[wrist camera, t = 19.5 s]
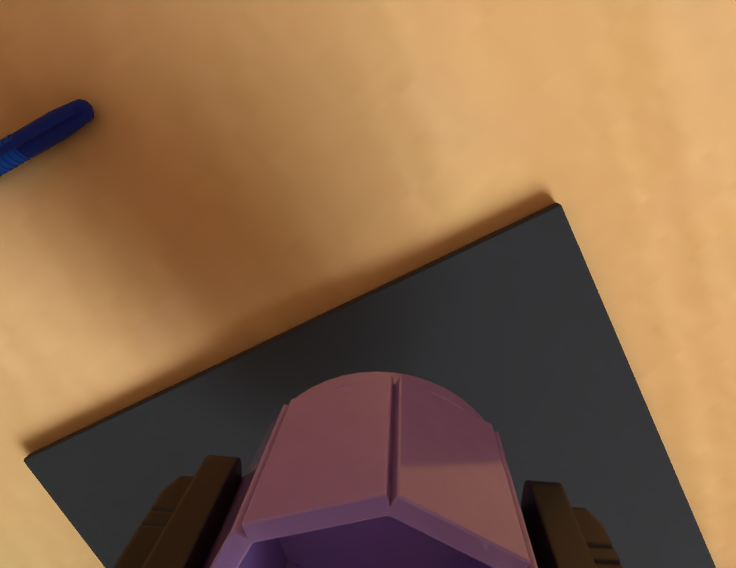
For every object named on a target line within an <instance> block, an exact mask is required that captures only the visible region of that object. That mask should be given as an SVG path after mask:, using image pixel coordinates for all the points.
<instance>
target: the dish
mask: <svg viewBox="0 0 736 568" xmlns="http://www.w3.org/2000/svg"><path fill="white" fill-rule="evenodd" d="M202 568H538V566H537V562H536V559H535V555H534V552H533V549H532V545H531V542H530V538H529V535H528V532H527V528H526V525H525V521H524V518H523V514H522V511H521V508H520V504H519V501H518V497H517V494H516V490H515V487H514V484H513V480H512V477H511V473H510V470H509V466H508V463H507V460H506V456H505V453H504V449H503V446H502V442H501V439H500V436H499V433H498V432H497V431H495V432H494V429H493V426H492V424H490V423H488V422H486V421H485V420H484V419H483V418H482V417H481V416H480V415H479V414H478V412H477V411H476V410H475V409H474V408H473V407H471V406H470V405H469V404H468V403H467V402H465V401H464V400H463V399H462V398H460V397H459V396H457V395H455V394H454V393H452V392H451V391H449V390H447V389H446V388H444V387H441V386H439V385H437V384H435V383H433V382H430V381H428V380H425V379H421V378H418V377H415V376H411V375H406V374H401V373H395V372H380V371H375V372H359V373H354V374H348V375H343V376H340V377H337V378H333V379H330V380H327V381H325V382H322V383H320V384H318V385H316V386H314V387H312V388H310V389H308V390H307V391H305V392H304V393H302V394H300V395H299V396H297V397H296V398H294V399H291V400H290V403H289V404H288V405H283V406H282V408H281V410H280V412H279V414H278V415H277V417H276V418H275V419H274V421H273V422H272V424H271V425H270V427H269V428H268V430H267V432H266V434H265V436H264V439H263V441H262V443H261V445H260V447H259V449H258V451H257V453H256V454H255V456H254V458H253V460H252V461H251V463H250V465H249V467H248V469H247V470H246V472H245V474H244V476H243V477H242V479H241V481H240V484H239V486H238V488H237V490H236V493H235V495H234V497H233V499H232V502H231V504H230V506H229V508H228V510H227V513H226V515H225V517H224V519H223V522H222V524H221V526H220V528H219V531H218V533H217V535H216V537H215V540H214V542H213V544H212V546H211V549H210V551H209V553H208V555H207V557H206V560H205V562H204V564H203V566H202Z"/></svg>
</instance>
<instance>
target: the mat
mask: <svg viewBox="0 0 736 568" xmlns="http://www.w3.org/2000/svg"><path fill="white" fill-rule="evenodd" d="M375 371H380V372H395V373H401V374H406V375H411V376H415V377H418V378H421V379H425V380H428V381H430V382H433V383H435V384H437V385H439V386H441V387H444V388H446V389H447V390H449V391H451V392H452V393H454V394H455V395H457V396H459V397H460V398H462V399H463V400H464V401H465V402H467V403H468V404H469V405H470V406H471V407H473V408H474V409H475V410H476V411H477V412H478V414H479V415H480V416H481V417H482V418H483V419H484V420H485V421H486V422H488V423H490V424H492V426H493V429H494V432H495V431H497V432H498V433H499V436H500V439H501V442H502V446H503V449H504V453H505V456H506V460H507V463H508V466H509V470H510V473H511V477H512V480H513V484H514V487H515V490H516V494H517V497H518V501H519V504H520V506H521V499H522V493H523V487H524V483H525V481H526V480H531V481H544V482H557V483H561V484H562V486H563V488H564V491H565V493H566V495H567V498H568V500H569V502H570V505H571V507H574V508H586V509H587V510H588V511H589V512H590V513H591V514H592V515H593V516H594V517H595V518H596V519H597V520H598V521H599V522H600V523H601V524H602V525H603V526H604V528H605V530H606V532H607V535H608V537H609V539H610V541H611V543H612V545H613V549H615V551H616V553H617V555H618V558H619V560H620V565H621V566H623V568H716V567H715V565H714V562H713V560H712V558H711V555H710V553H709V551H708V548H707V546H706V544H705V541H704V539H703V537H702V534H701V532H700V529H699V527H698V525H697V522H696V520H695V518H694V515H693V513H692V511H691V508H690V506H689V504H688V501H687V499H686V497H685V494H684V492H683V490H682V487H681V485H680V483H679V480H678V478H677V476H676V473H675V471H674V469H673V466H672V464H671V462H670V459H669V457H668V455H667V452H666V450H665V447H664V445H663V443H662V440H661V438H660V436H659V433H658V431H657V429H656V426H655V424H654V422H653V419H652V417H651V415H650V412H649V410H648V408H647V405H646V403H645V401H644V398H643V396H642V394H641V391H640V389H639V387H638V384H637V382H636V380H635V377H634V375H633V372H632V370H631V368H630V365H629V363H628V361H627V358H626V356H625V354H624V351H623V349H622V347H621V344H620V342H619V340H618V337H617V335H616V333H615V330H614V328H613V326H612V323H611V321H610V319H609V316H608V314H607V312H606V309H605V307H604V305H603V302H602V300H601V298H600V295H599V293H598V290H597V288H596V286H595V283H594V281H593V279H592V276H591V274H590V272H589V269H588V267H587V265H586V262H585V260H584V258H583V255H582V253H581V251H580V248H579V246H578V244H577V241H576V239H575V237H574V234H573V232H572V230H571V227H570V225H569V223H568V220H567V218H566V216H565V213H564V211H563V208H562V206H561V205H560V204H558V203H554V204H552V205H550V206H548V207H546V208H544V209H542V210H540V211H537V212H535V213H533V214H531V215H529V216H527V217H525V218H523V219H521V220H519V221H517V222H514V223H512V224H510V225H508V226H506V227H504V228H502V229H500V230H498V231H496V232H493V233H491V234H489V235H487V236H485V237H483V238H481V239H479V240H477V241H475V242H473V243H470V244H468V245H466V246H464V247H462V248H460V249H458V250H456V251H454V252H452V253H449V254H447V255H445V256H443V257H441V258H439V259H437V260H435V261H433V262H431V263H429V264H426V265H424V266H422V267H420V268H418V269H416V270H414V271H412V272H410V273H408V274H405V275H403V276H401V277H399V278H397V279H395V280H393V281H391V282H389V283H387V284H384V285H382V286H380V287H378V288H376V289H374V290H372V291H370V292H368V293H366V294H364V295H361V296H359V297H357V298H355V299H353V300H351V301H349V302H347V303H345V304H343V305H340V306H338V307H336V308H334V309H332V310H330V311H328V312H326V313H324V314H322V315H320V316H317V317H315V318H313V319H311V320H309V321H307V322H305V323H303V324H301V325H299V326H296V327H294V328H292V329H290V330H288V331H286V332H284V333H282V334H280V335H278V336H275V337H273V338H271V339H269V340H267V341H265V342H263V343H261V344H259V345H257V346H255V347H252V348H250V349H248V350H246V351H244V352H242V353H240V354H238V355H236V356H234V357H231V358H229V359H227V360H225V361H223V362H221V363H219V364H217V365H215V366H213V367H211V368H208V369H206V370H204V371H202V372H200V373H198V374H196V375H194V376H192V377H190V378H187V379H185V380H183V381H181V382H179V383H177V384H175V385H173V386H171V387H169V388H166V389H164V390H162V391H160V392H158V393H156V394H154V395H152V396H150V397H148V398H146V399H143V400H141V401H139V402H137V403H135V404H133V405H131V406H129V407H127V408H125V409H122V410H120V411H118V412H116V413H114V414H112V415H110V416H108V417H106V418H104V419H102V420H99V421H97V422H95V423H93V424H91V425H89V426H87V427H85V428H83V429H81V430H78V431H76V432H74V433H72V434H70V435H68V436H66V437H64V438H62V439H60V440H57V441H55V442H53V443H51V444H49V445H47V446H45V447H43V448H41V449H39V450H37V451H34V452H32V453H30V454H29V455H28V456H27V457H26V458H25V459H24V462H25V463H26V465H27V466H28V467H29V469H30V470H31V471H32V473H33V474H34V475H35V476H36V478H37V479H38V480H39V482H40V483H41V484H42V486H43V487H44V488H45V490H46V491H47V492H48V493H49V495H50V496H51V497H52V499H53V500H54V501H55V503H56V504H57V505H58V506H59V508H60V509H61V510H62V512H63V513H64V514H65V516H66V517H67V518H68V519H69V521H70V522H71V523H72V525H73V526H74V527H75V529H76V530H77V531H78V532H79V534H80V535H81V536H82V538H83V539H84V540H85V542H86V543H87V544H88V546H89V547H90V548H91V549H92V551H93V552H94V553H95V555H96V556H97V557H98V559H99V560H100V561H101V562H102V564H103V565H104V566H105V568H113V566H114V565H115V563H116V562H117V560H118V558H119V557H120V555H121V554H122V552H123V551H124V549H125V547H126V546H127V544H128V543H129V541H130V540H131V538H132V537H133V535H134V533H135V532H136V530H137V529H138V527H139V526H140V525H142V522H143V519H144V518H145V516H146V515H147V513H148V512H149V510H151V508H152V505H153V504H154V502H155V501H156V499H157V498H158V496H159V495H160V493H161V491H162V490H163V489H164V488H166V487H167V486H168V485H170V484H171V483H172V482H173V481H175V480H176V479H177V478H179V477H180V476H189V477H194V476H195V474H196V472H197V471H198V469H199V467H200V465H201V464H202V462H203V460H204V459H205V457H206V456H207V455H214V456H227V457H239V458H240V459H241V463H242V477H243V476H244V474H245V472H246V470H247V469H248V467H249V465H250V463H251V461H252V460H253V458H254V456H255V454H256V453H257V451H258V449H259V447H260V445H261V443H262V441H263V439H264V436H265V434H266V432H267V430H268V428H269V427H270V425H271V424H272V422H273V421H274V419H275V418H276V417H277V415H278V414H279V412H280V410H281V408H282V406H283V405H288V404H289V403H290V400H291V399H294V398H296V397H297V396H299V395H300V394H302V393H304V392H305V391H307V390H308V389H310V388H312V387H314V386H316V385H318V384H320V383H322V382H325V381H327V380H330V379H333V378H337V377H340V376H343V375H348V374H354V373H359V372H375Z"/></svg>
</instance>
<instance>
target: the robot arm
mask: <svg viewBox="0 0 736 568" xmlns="http://www.w3.org/2000/svg"><path fill="white" fill-rule="evenodd" d="M241 479H242V463H241V459H240V458H239V457H227V456H214V455H207V456H206V457H205V459H204V460H203V462H202V464H201V465H200V467H199V469H198V471H197V472H196V474H195V476H194V477H189V476H180V477H179V478H177V479H176V480H175V481H173V482H172V483H171V484H170V485H168V486H167V487H166V488H164V489H163V490H162V491H161V493H160V495H159V496H158V498H157V499H156V501H155V502H154V504H153V505H152V508H151V510H149V512H148V513H147V515H146V516H145V518H144V519H143V522H142V525H140V526H139V527H138V529H137V530H136V532H135V533H134V535H133V537H132V538H131V540H130V541H129V543H128V544H127V546H126V547H125V549H124V551H123V552H122V554H121V555H120V557H119V558H118V560H117V562H116V563H115V565H114V566H113V568H202V566H203V564H204V562H205V560H206V557H207V555H208V553H209V551H210V549H211V546H212V544H213V542H214V540H215V537H216V535H217V533H218V531H219V528H220V526H221V524H222V522H223V519H224V517H225V515H226V513H227V510H228V508H229V506H230V504H231V502H232V499H233V497H234V495H235V493H236V490H237V488H238V486H239V484H240V481H241ZM520 508H521V511H522V514H523V518H524V521H525V525H526V528H527V532H528V535H529V538H530V542H531V545H532V549H533V552H534V555H535V559H536V562H537V566H538V568H623V566H621V565H620V560H619V558H618V555H617V553H616V551H615V549H613V545H612V543H611V541H610V539H609V537H608V535H607V532H606V530H605V528H604V526H603V525H602V524H601V523H600V522H599V521H598V520H597V519H596V518H595V517H594V516H593V515H592V514H591V513H590V512H589V511H588V510H587V509H586V508H574V507H571V505H570V502H569V500H568V498H567V495H566V493H565V491H564V488H563V486H562V484H561V483H557V482H544V481H531V480H526V481H525V483H524V487H523V493H522V499H521V506H520Z"/></svg>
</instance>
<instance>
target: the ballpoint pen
mask: <svg viewBox="0 0 736 568" xmlns="http://www.w3.org/2000/svg"><path fill="white" fill-rule="evenodd" d="M93 118H94V110H93V108H92V106H91V105H90V104H89V103H88V102H86V101H85V100H81V99H78V100H75V101H73V102H70V103H68V104H66V105H63V106H61V107H59V108H57V109H55V110H52V111H50V112H48V113H47V114H45V115H43V116H42V117H40V118H38V119H36V120H35V121H33V122H31V123H30V124H28V125H26V126H24V127H23V128H21V129H19V130H18V131H16V132H14V133H13V134H10V135H8V136H6V138H3V139H1V140H0V176H2V175H3V174H5V173H7V172H8V171H10V170H12V169H13V168H15V167H17V166H19V165H21V164H23V163H24V162H25V161H28V160H30V159H31V158H33V157H35V156H36V155H38V154H40V153H42V152H43V151H45V150H47V149H49V148H50V147H52V146H54V145H56V144H57V143H59V142H61V141H63V140H65V139H66V138H68V137H69V136H71V135H72V134H74V133H75V132H77V131H78V130H79V129H81V128H82V127H83V126H85V125H86V124H88V123H89V122H90V121H91V120H92V119H93Z"/></svg>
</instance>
